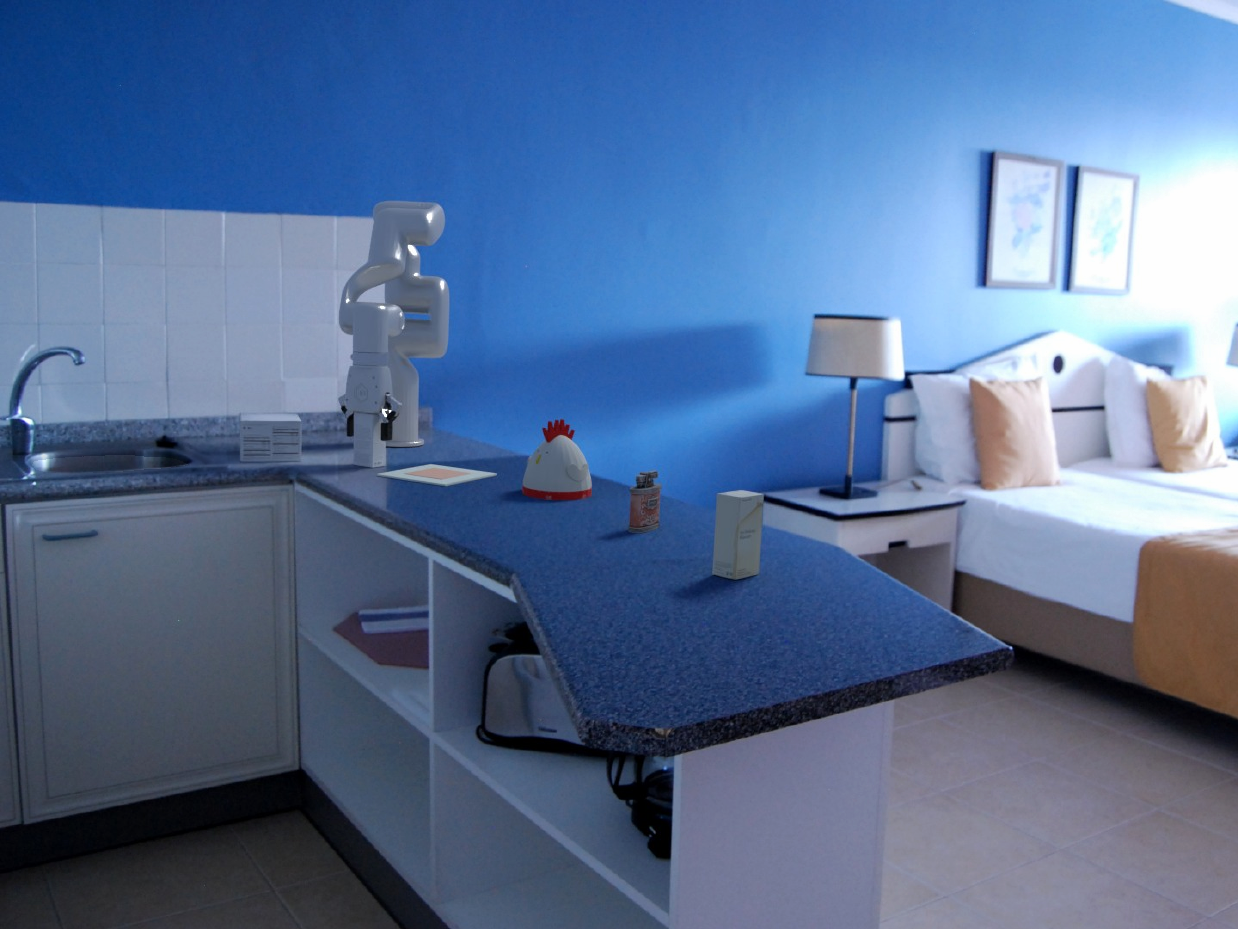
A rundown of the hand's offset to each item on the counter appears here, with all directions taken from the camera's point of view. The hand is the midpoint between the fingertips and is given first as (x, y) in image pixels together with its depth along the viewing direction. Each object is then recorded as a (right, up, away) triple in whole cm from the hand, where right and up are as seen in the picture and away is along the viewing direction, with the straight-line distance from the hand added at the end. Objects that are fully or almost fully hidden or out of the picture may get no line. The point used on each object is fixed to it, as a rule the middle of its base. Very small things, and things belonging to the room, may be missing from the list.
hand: (369, 438), depth 236 cm
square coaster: (+16, -8, -8) cm, 20 cm away
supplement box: (-25, -4, +9) cm, 26 cm away
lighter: (+59, -17, -51) cm, 80 cm away
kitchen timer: (+43, -12, -22) cm, 49 cm away
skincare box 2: (+72, -22, -79) cm, 109 cm away
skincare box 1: (0, -6, +1) cm, 6 cm away
